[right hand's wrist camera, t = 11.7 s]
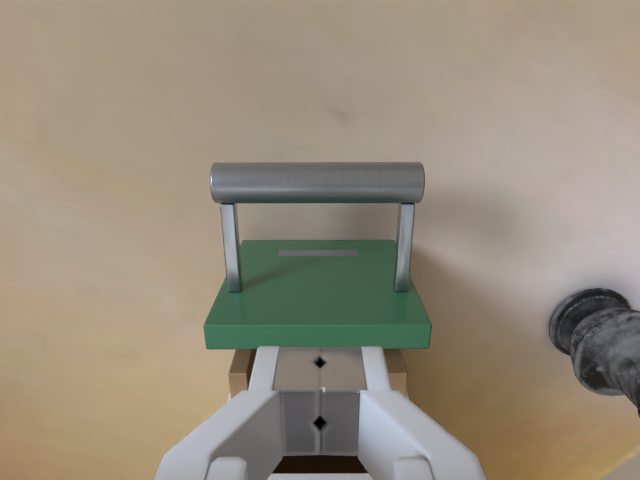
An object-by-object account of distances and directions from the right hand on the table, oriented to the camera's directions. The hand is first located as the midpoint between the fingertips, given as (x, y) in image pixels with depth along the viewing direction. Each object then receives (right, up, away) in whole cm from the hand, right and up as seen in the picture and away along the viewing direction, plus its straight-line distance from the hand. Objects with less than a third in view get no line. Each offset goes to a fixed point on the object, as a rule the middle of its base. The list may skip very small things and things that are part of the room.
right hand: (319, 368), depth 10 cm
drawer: (0, -2, +17) cm, 17 cm away
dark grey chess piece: (+18, -2, +18) cm, 26 cm away
